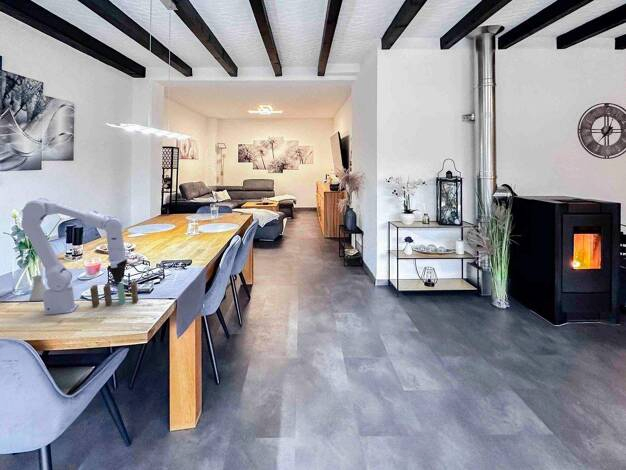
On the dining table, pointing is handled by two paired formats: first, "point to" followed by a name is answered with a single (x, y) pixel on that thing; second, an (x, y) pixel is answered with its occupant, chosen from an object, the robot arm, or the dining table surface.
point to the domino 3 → (121, 293)
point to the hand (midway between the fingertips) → (119, 280)
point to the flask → (37, 289)
